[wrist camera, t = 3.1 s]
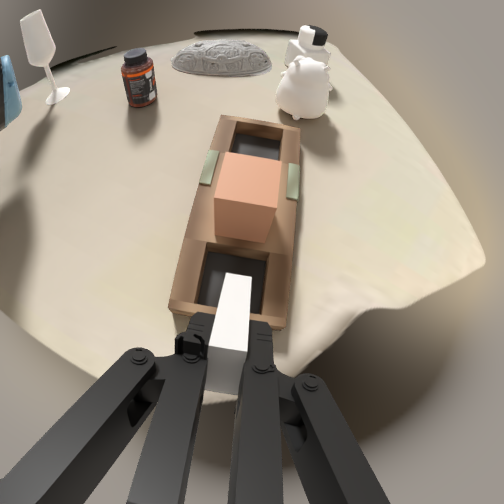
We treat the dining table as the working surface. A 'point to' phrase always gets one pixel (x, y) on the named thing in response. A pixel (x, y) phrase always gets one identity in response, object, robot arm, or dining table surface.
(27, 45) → the champagne flute
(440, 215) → the dining table surface
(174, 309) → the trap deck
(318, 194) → the dining table surface
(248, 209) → the block
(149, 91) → the supplement bottle
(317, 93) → the figurine
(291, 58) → the medicine bottle
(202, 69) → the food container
